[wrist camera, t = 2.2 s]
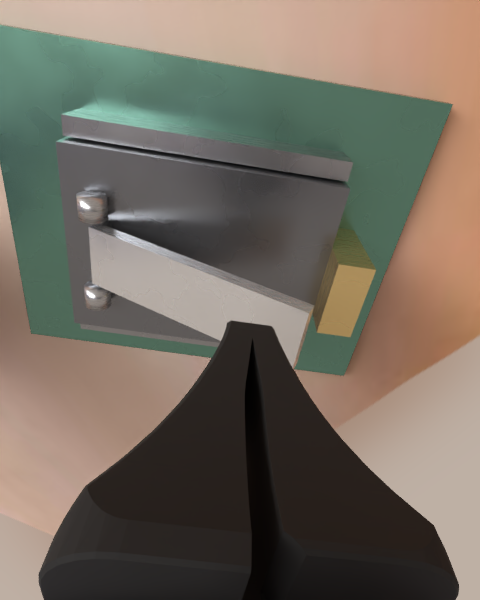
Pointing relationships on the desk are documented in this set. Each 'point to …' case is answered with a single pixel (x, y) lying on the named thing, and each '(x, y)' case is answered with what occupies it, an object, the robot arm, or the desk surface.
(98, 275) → the grey flat bar
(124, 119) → the circuit board
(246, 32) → the desk surface
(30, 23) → the desk surface
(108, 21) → the desk surface
